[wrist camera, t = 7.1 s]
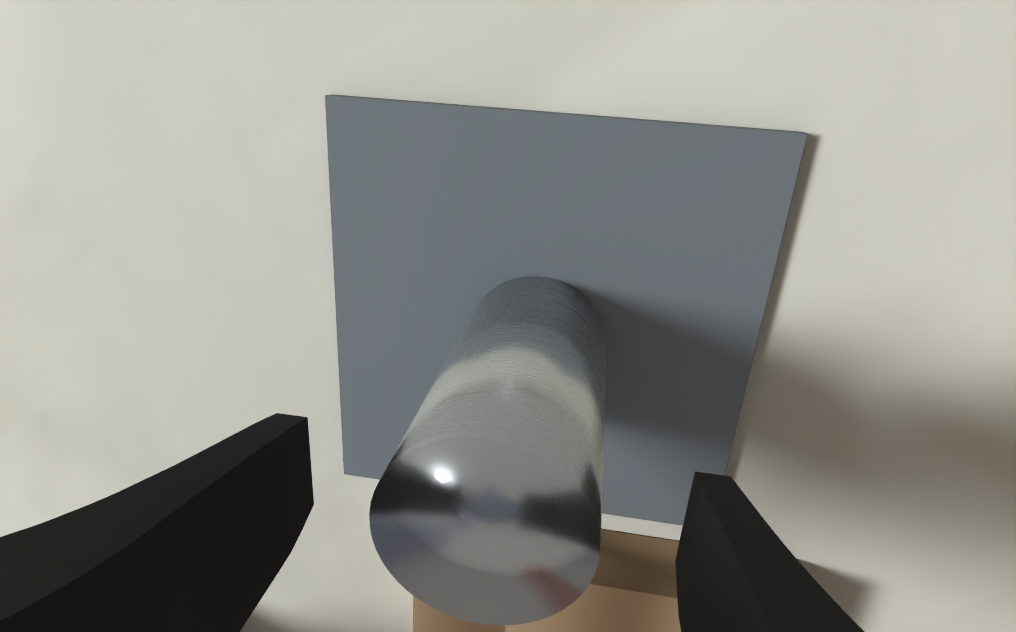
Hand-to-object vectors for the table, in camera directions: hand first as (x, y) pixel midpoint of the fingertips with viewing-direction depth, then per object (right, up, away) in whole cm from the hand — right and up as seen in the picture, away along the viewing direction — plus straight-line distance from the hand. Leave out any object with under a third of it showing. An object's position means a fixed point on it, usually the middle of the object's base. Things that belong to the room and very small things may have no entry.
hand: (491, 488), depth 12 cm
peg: (+1, +2, +6) cm, 7 cm away
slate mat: (+1, +3, +7) cm, 7 cm away
